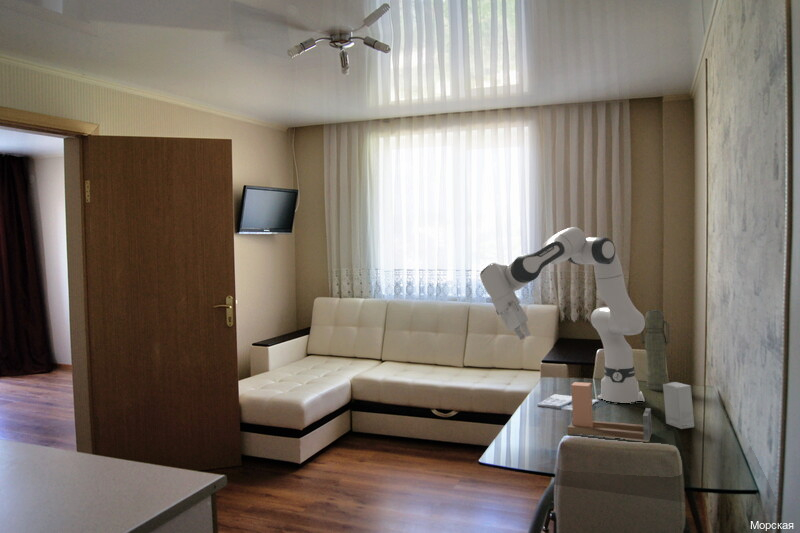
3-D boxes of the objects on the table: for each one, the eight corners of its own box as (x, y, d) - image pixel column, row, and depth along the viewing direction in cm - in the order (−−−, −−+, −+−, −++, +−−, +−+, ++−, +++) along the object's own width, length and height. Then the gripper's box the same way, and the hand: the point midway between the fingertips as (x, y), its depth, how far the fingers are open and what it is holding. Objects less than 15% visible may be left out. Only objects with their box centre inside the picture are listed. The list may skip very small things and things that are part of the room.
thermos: (671, 391, 260) (668, 311, 259) (642, 389, 265) (639, 311, 265) (672, 386, 268) (669, 309, 267) (644, 385, 273) (640, 309, 272)
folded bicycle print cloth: (555, 397, 263) (555, 392, 263) (600, 403, 250) (600, 397, 250) (535, 407, 248) (535, 402, 248) (582, 414, 235) (582, 408, 235)
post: (576, 425, 216) (574, 382, 215) (593, 427, 213) (591, 383, 212) (573, 429, 211) (571, 385, 211) (590, 431, 208) (588, 386, 208)
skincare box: (694, 427, 209) (692, 385, 209) (679, 429, 208) (678, 387, 208) (678, 421, 217) (676, 380, 217) (664, 423, 216) (662, 382, 216)
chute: (573, 426, 219) (572, 402, 218) (651, 433, 206) (650, 408, 206) (567, 434, 210) (566, 409, 210) (648, 441, 197) (647, 416, 197)
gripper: (520, 295, 211) (539, 329, 208) (509, 305, 231) (527, 337, 228) (504, 303, 210) (523, 338, 207) (495, 312, 230) (513, 344, 227)
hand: (525, 337), depth 218 cm, fingers open, 8 cm apart
